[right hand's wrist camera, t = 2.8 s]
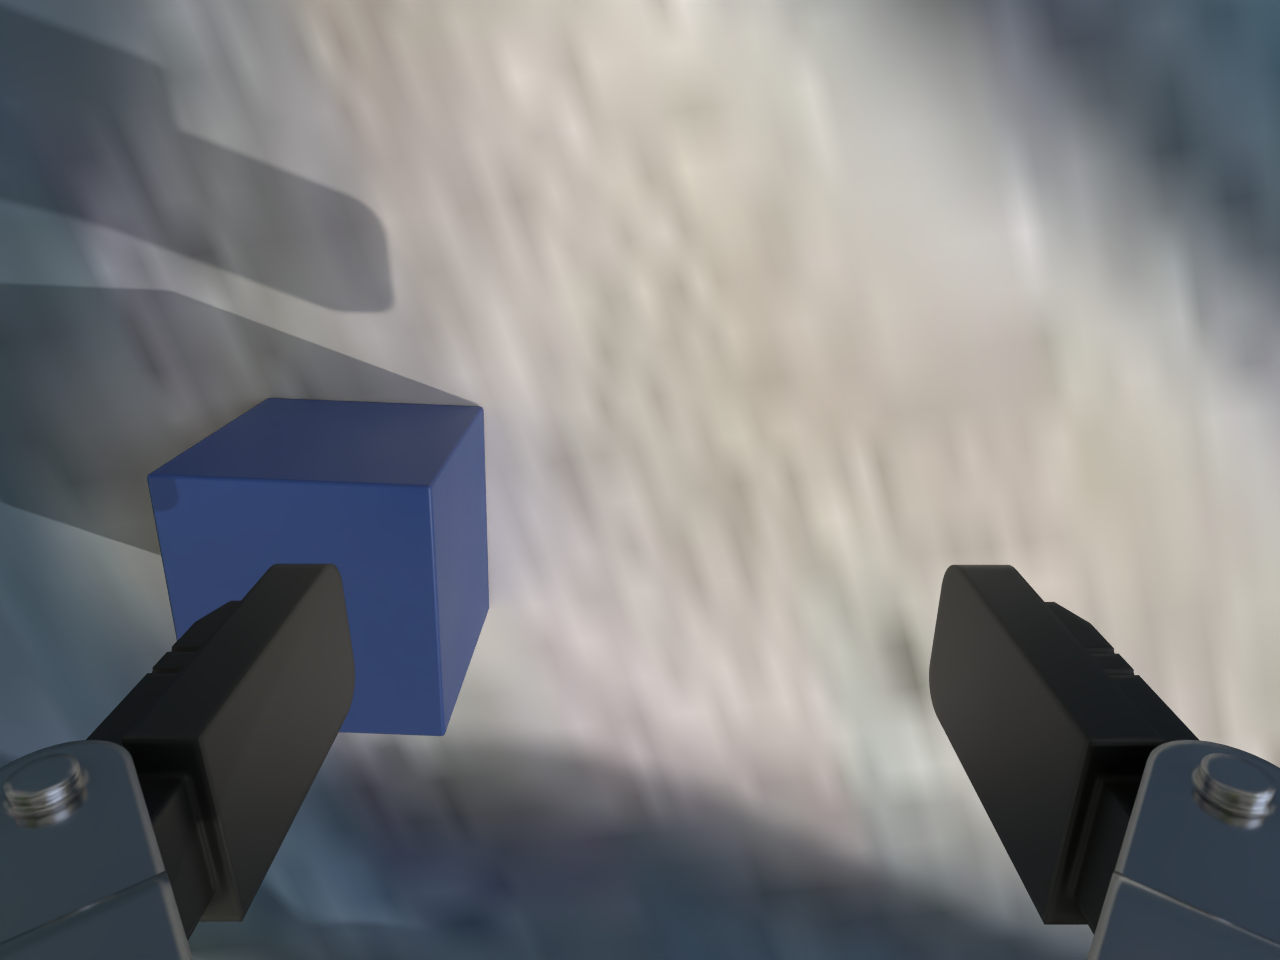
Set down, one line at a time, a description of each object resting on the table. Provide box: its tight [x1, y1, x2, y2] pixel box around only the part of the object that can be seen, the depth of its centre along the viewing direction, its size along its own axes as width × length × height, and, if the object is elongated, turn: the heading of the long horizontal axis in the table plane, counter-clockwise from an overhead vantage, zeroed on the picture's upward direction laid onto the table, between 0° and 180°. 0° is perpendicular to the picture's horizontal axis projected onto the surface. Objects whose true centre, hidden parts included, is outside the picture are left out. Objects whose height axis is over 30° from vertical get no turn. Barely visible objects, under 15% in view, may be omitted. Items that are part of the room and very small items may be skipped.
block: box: [147, 398, 489, 736], centre depth 16 cm, size 5×5×5 cm
